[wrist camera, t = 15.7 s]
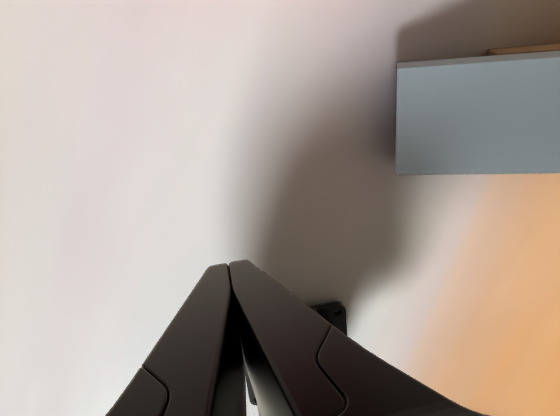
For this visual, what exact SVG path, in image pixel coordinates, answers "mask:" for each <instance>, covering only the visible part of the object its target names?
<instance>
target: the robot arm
mask: <svg viewBox="0 0 560 416" xmlns="http://www.w3.org/2000/svg"><path fill="white" fill-rule="evenodd" d="M337 309H339V310H338V311H337V312H334V311H335V310H337ZM245 376H246V382H247V387H248V393H249V398H250V402H251V403H252V404H253V405H257V406H258V412H259V416H489V415H485V414H481V413H478V412H475V411H472V410H470V409H467V408H465V407H463V406H461V405H459V404H457V403H455V402H453V401H451V400H449V399H448V398H446V397H444V396H443V395H441V394H439V393H438V392H436V391H434V390H433V389H431V388H429V387H427V386H426V385H424V384H422V383H421V382H419V381H417V380H416V379H414V378H412V377H410V376H409V375H407V374H405V373H404V372H402V371H400V370H399V369H397V368H395V367H394V366H392V365H390V364H388V363H387V362H385V361H384V360H382V359H380V358H379V357H377V356H376V355H374V354H373V353H371V352H369V351H368V350H366V349H365V348H363V347H362V346H360V345H359V344H358V343H356V342H355V341H353V340H352V339H351V338H349V337H348V336H347V326H346V309H345V307H344V305H343V304H342V303H341V302H332V303H327V304H322V305H317V306H312V307H308V306H307V305H306V304H304V303H303V302H302V301H301V300H299V299H298V298H297V297H295V296H294V295H293V294H291V293H290V292H289V291H287V290H286V289H285V288H284V287H282V286H281V285H280V284H278V283H277V282H276V281H274V280H273V279H272V278H271V277H269V276H268V275H267V274H265V273H264V272H263V271H261V270H260V269H259V268H258V267H256V266H255V265H254V264H252V263H251V262H250V261H248V260H240V261H234V262H231V263H229V267H228V265H227V264H226V263H224V264H218V265H213V266H209V267H208V268H207V270H206V271H205V273H204V274H203V276H202V277H201V279H200V280H199V282H198V283H197V285H196V286H195V288H194V289H193V290H192V292H191V293H190V295H189V296H188V298H187V299H186V301H185V302H184V304H183V305H182V307H181V308H180V310H179V311H178V313H177V314H176V316H175V317H174V319H173V320H172V322H171V323H170V324H169V326H168V327H167V329H166V330H165V332H164V333H163V335H162V336H161V338H160V339H159V341H158V342H157V344H156V345H155V347H154V348H153V350H152V351H151V353H150V354H149V356H148V357H147V358H146V360H145V361H144V363H143V364H142V368H140V369H139V370H138V371H137V373H136V374H135V376H134V377H133V379H132V380H131V382H130V383H129V385H128V386H127V387H126V389H125V390H124V392H123V393H122V394H121V396H120V397H119V399H118V400H117V401H116V403H115V404H114V405H113V407H112V408H111V409H110V410H109V412H108V413H107V414H106V415H105V416H246V384H245Z"/></svg>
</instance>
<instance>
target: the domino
mask: <svg viewBox="0 0 560 416" xmlns="http://www.w3.org/2000/svg"><path fill="white" fill-rule="evenodd" d="M395 169H396V175H434V174H533V173H560V51H548V52H534V53H521V54H507V55H494V56H480V57H466V58H453V59H439V60H426V61H412V62H399V63H397V89H396V145H395Z"/></svg>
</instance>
